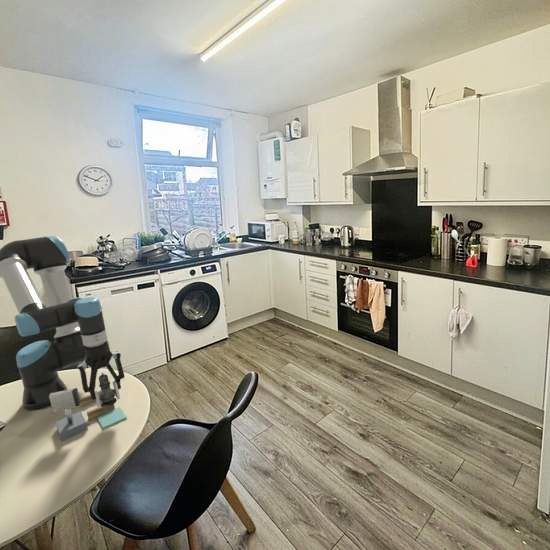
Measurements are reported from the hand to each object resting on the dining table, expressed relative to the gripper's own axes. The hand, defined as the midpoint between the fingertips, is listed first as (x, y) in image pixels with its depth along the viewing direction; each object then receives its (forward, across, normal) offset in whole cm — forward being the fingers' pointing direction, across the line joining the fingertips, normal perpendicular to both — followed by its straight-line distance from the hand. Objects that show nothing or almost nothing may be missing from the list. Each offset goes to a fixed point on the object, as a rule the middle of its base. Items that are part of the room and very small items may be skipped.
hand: (108, 401), depth 121 cm
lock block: (+7, -12, +4) cm, 15 cm away
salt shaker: (+1, 0, 0) cm, 1 cm away
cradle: (+7, -2, +11) cm, 13 cm away
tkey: (+4, -12, +4) cm, 13 cm away
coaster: (+7, 0, 0) cm, 7 cm away
